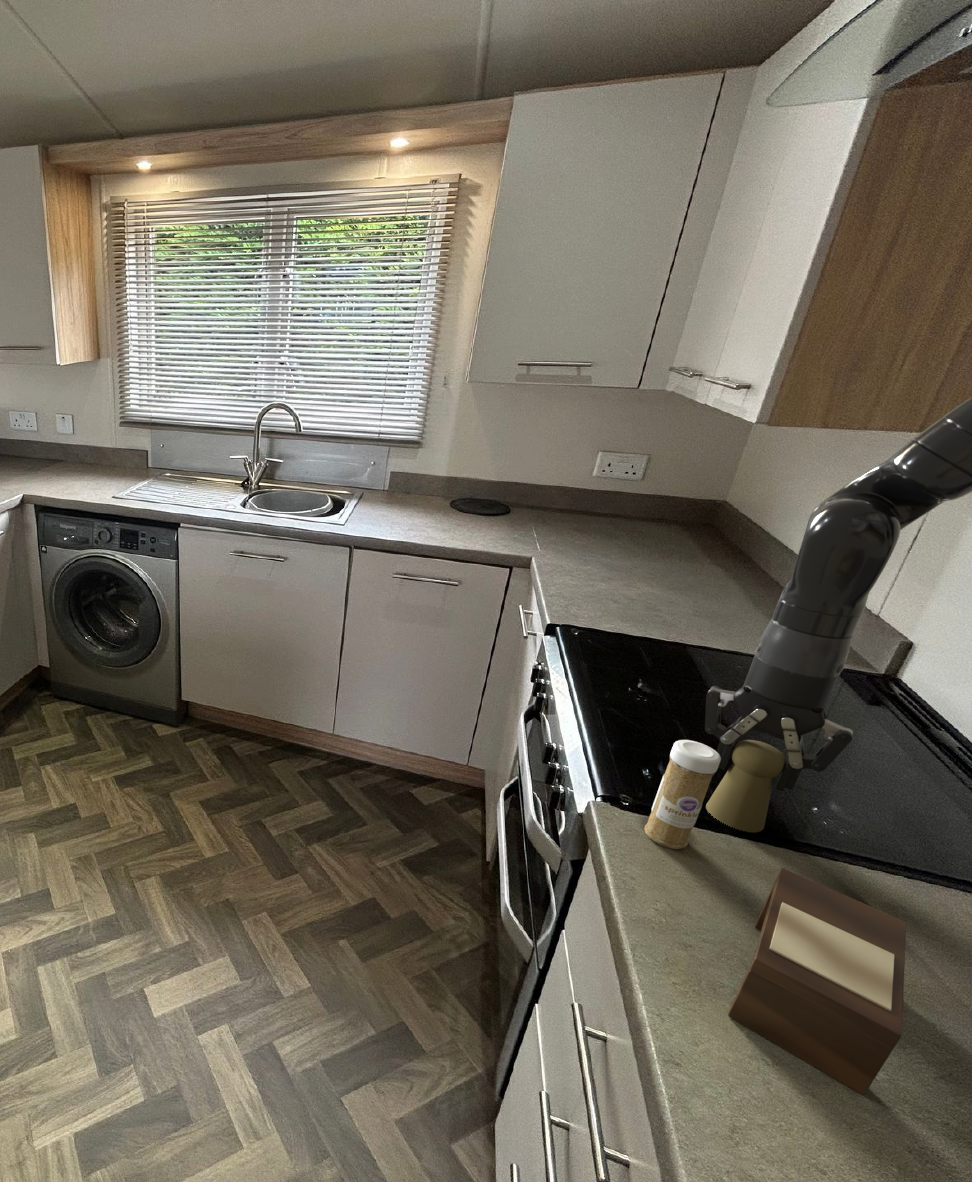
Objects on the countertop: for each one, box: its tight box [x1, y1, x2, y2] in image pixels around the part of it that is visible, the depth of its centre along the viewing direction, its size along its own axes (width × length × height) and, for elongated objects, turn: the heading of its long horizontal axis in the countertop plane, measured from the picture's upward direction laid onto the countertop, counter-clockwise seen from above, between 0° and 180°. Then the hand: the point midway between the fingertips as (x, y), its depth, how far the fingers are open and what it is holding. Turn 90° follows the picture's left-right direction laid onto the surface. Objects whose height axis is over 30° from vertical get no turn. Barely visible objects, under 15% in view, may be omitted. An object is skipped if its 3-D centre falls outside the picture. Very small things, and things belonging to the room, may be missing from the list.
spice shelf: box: [727, 867, 907, 1096], centre depth 59 cm, size 16×9×8 cm, turn 132°
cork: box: [705, 739, 787, 833], centre depth 82 cm, size 6×6×11 cm
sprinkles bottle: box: [644, 739, 721, 850], centre depth 78 cm, size 5×5×13 cm
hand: (750, 776), depth 82 cm, fingers closed on cork, 5 cm apart
